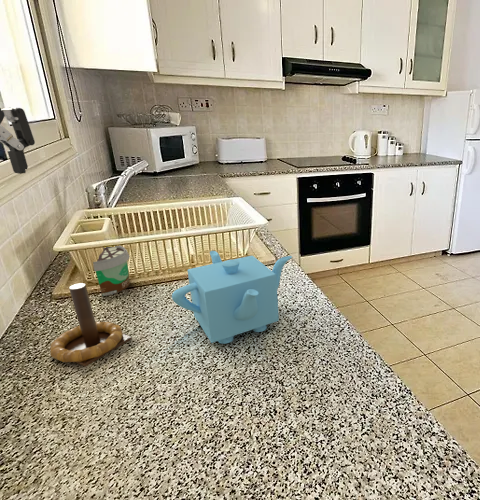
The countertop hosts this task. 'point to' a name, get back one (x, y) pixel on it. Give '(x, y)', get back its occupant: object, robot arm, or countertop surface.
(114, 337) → the ring
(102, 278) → the food container
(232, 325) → the teakettle
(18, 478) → the countertop surface
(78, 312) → the peg stand
